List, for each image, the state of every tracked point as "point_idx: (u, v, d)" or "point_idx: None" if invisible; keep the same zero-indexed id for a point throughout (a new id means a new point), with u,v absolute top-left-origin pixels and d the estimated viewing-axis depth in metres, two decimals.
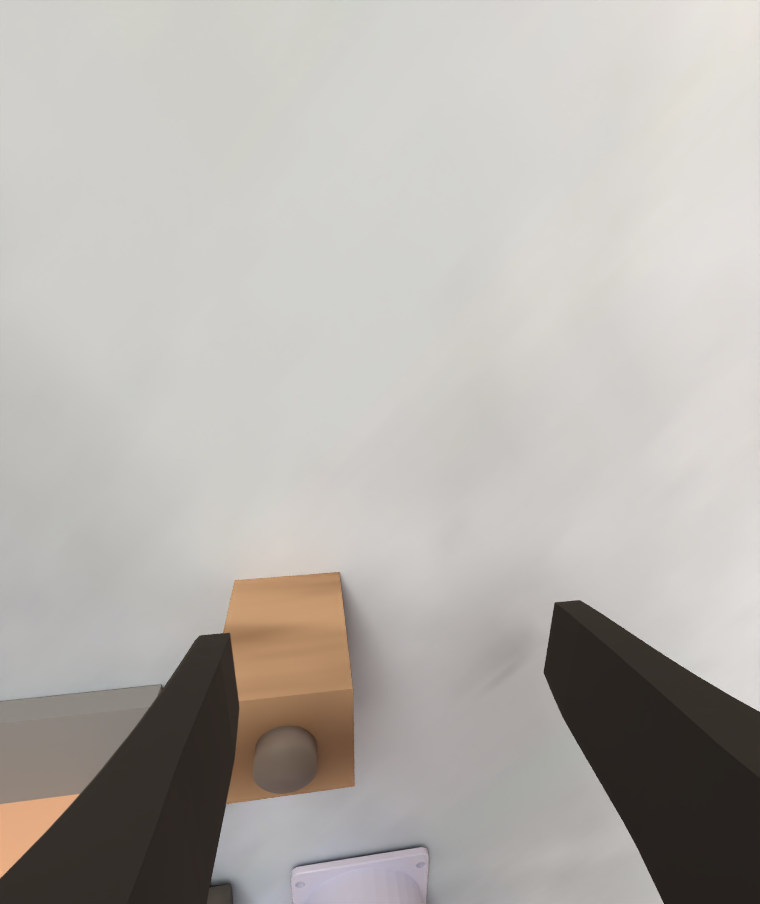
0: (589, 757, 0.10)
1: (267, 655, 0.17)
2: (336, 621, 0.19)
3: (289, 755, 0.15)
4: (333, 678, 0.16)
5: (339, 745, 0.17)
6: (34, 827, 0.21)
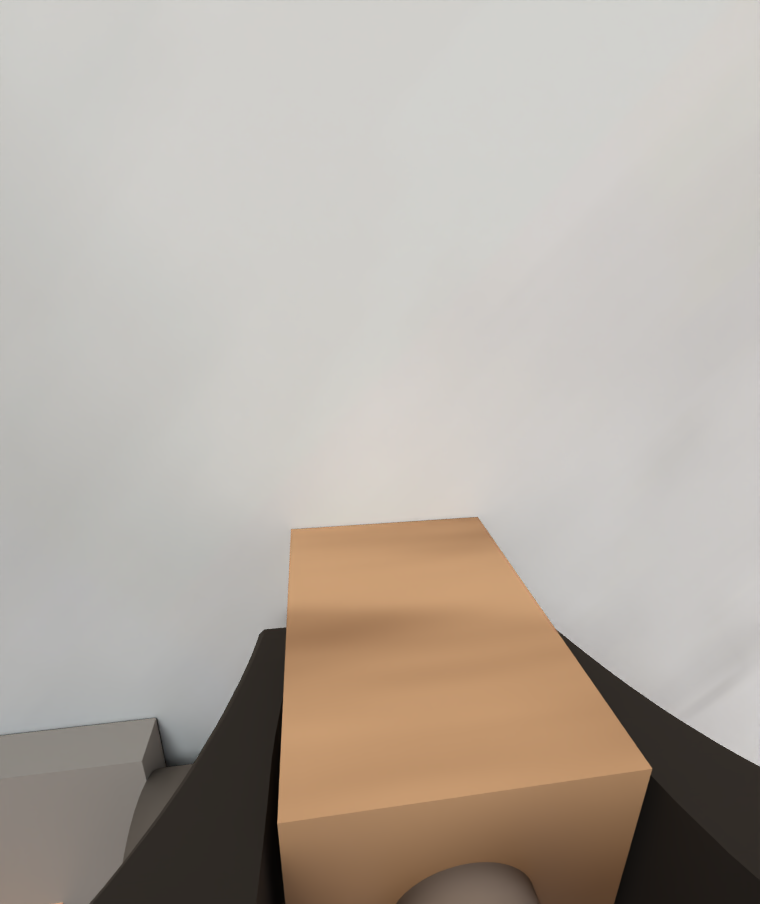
0: None
1: (398, 676, 0.07)
2: (518, 601, 0.09)
3: None
4: (586, 738, 0.06)
5: (584, 897, 0.07)
6: None
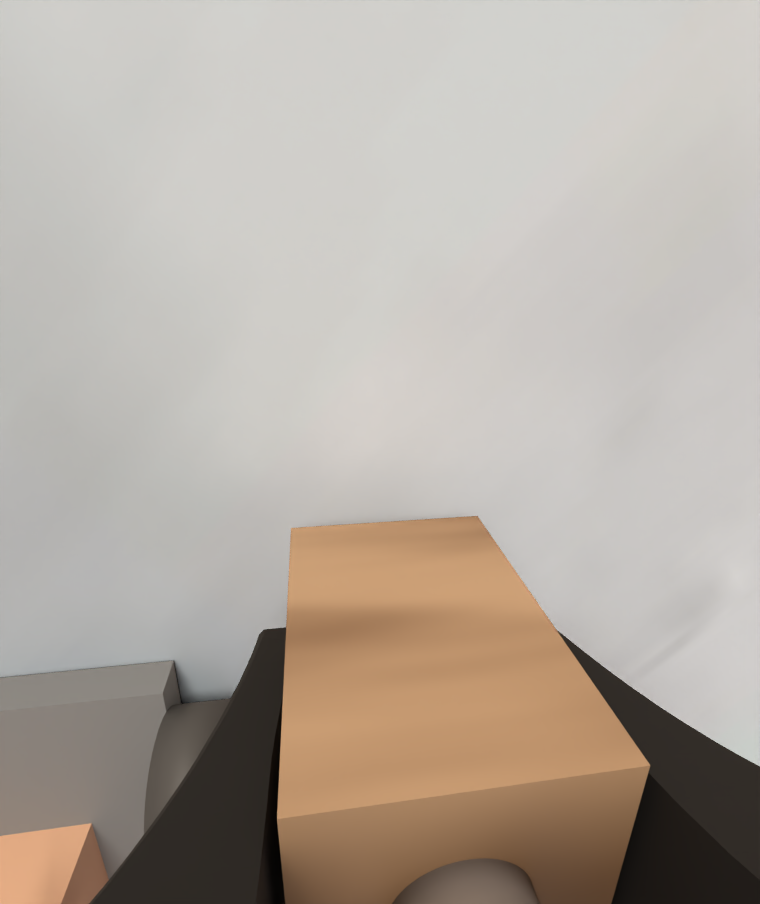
0: None
1: (397, 673, 0.07)
2: (517, 599, 0.09)
3: None
4: (584, 735, 0.06)
5: (583, 893, 0.07)
6: None
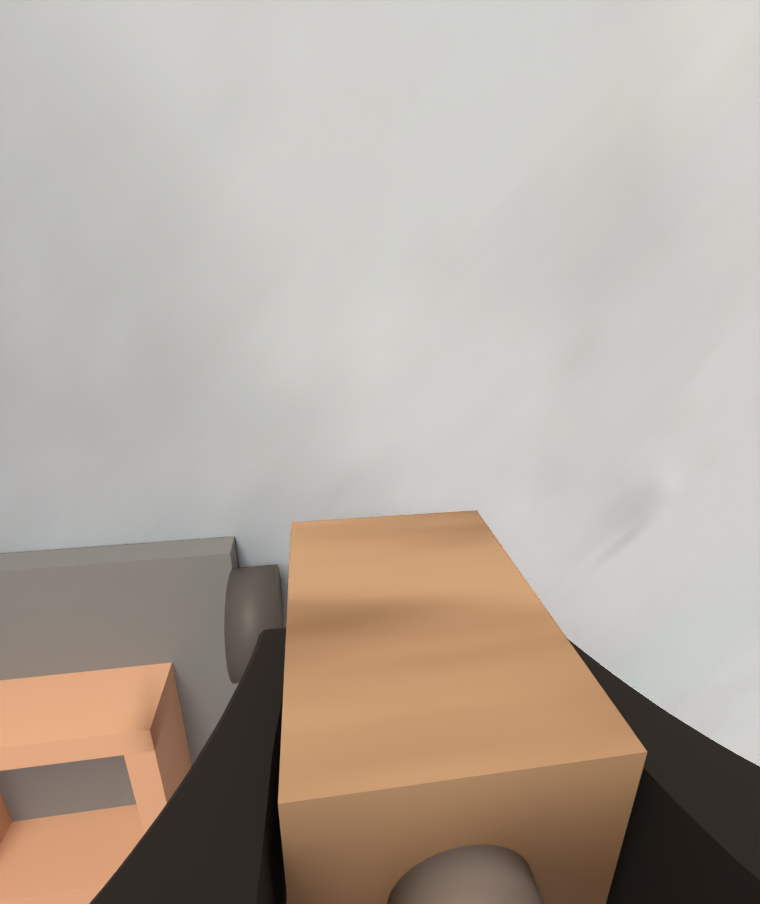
0: None
1: (397, 663, 0.07)
2: (516, 592, 0.09)
3: None
4: (582, 723, 0.06)
5: (581, 880, 0.07)
6: (89, 696, 0.18)
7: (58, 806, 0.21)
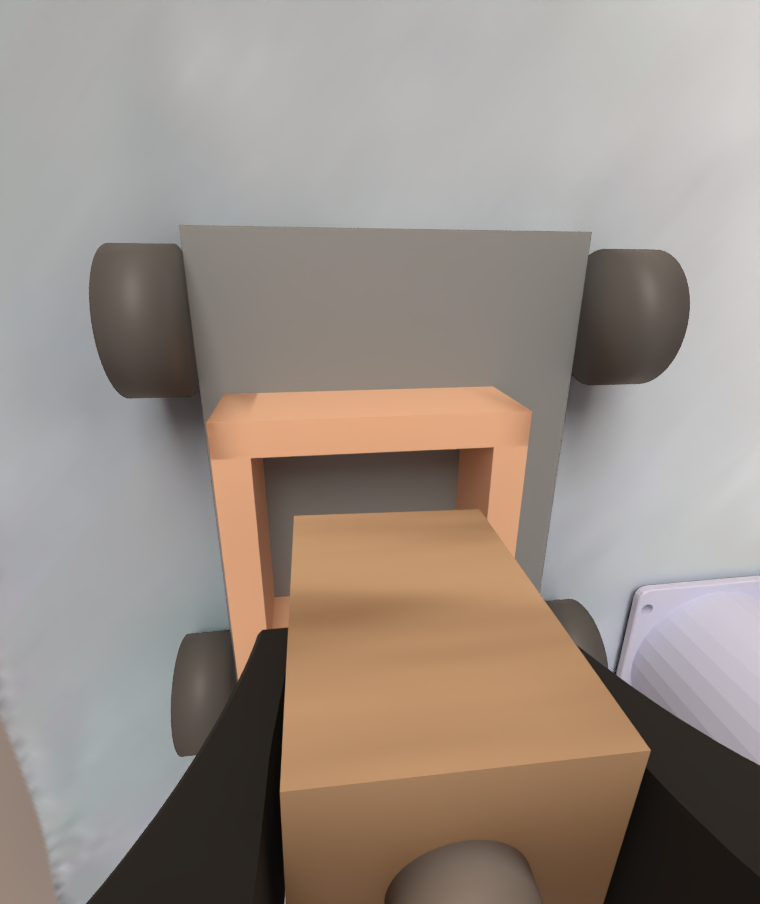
0: None
1: (400, 657, 0.07)
2: (519, 589, 0.09)
3: None
4: (585, 720, 0.06)
5: (579, 880, 0.07)
6: (426, 399, 0.15)
7: None
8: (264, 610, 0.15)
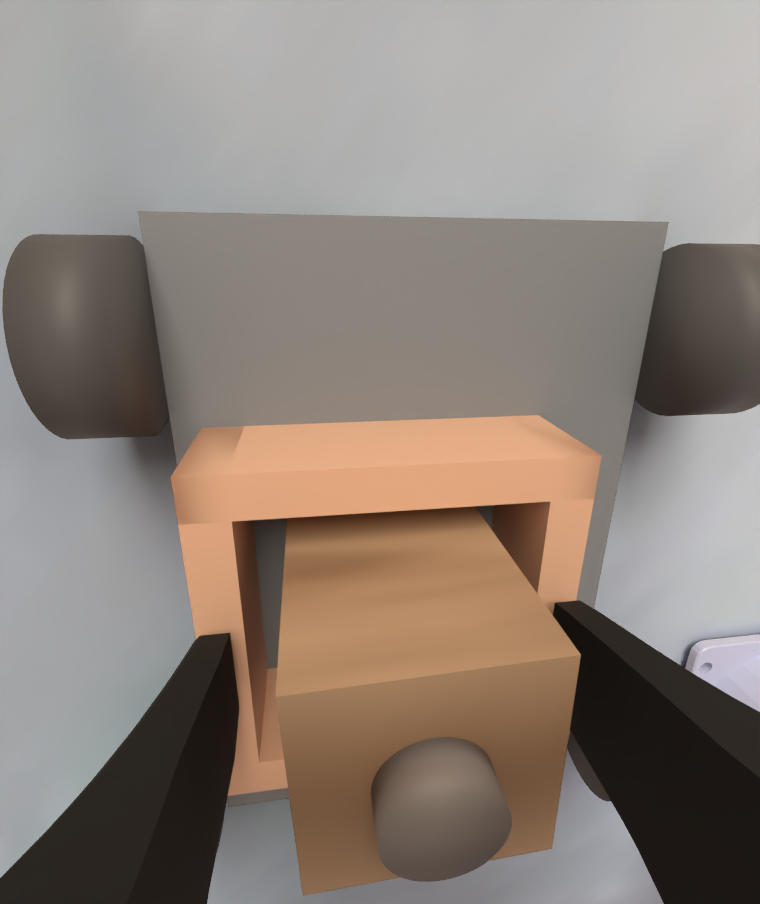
0: (588, 757, 0.10)
1: (377, 598, 0.09)
2: (484, 542, 0.10)
3: (459, 804, 0.07)
4: (529, 636, 0.08)
5: (536, 772, 0.08)
6: (459, 435, 0.12)
7: None
8: (252, 706, 0.11)
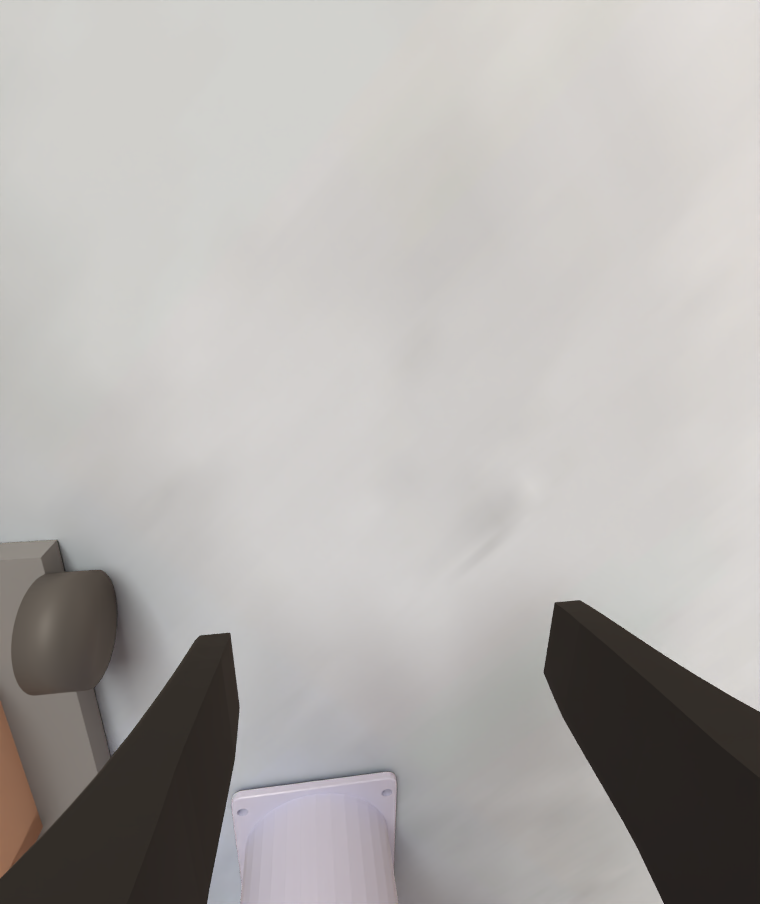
0: (589, 757, 0.10)
1: None
2: None
3: None
4: None
5: None
6: None
7: None
8: None
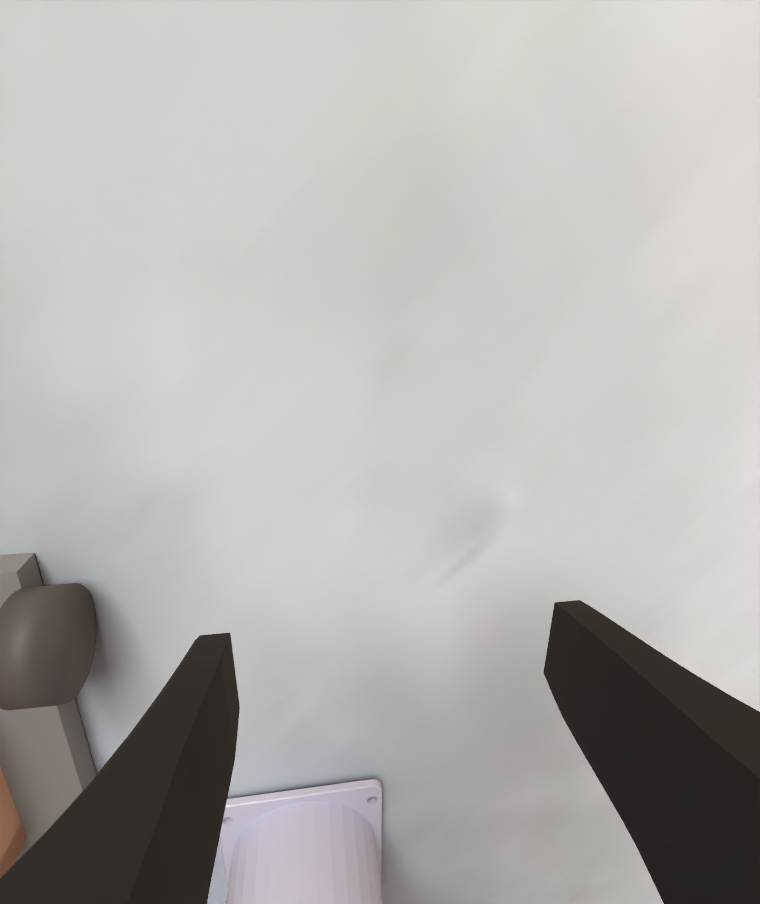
0: (589, 756, 0.10)
1: None
2: None
3: None
4: None
5: None
6: None
7: None
8: None
